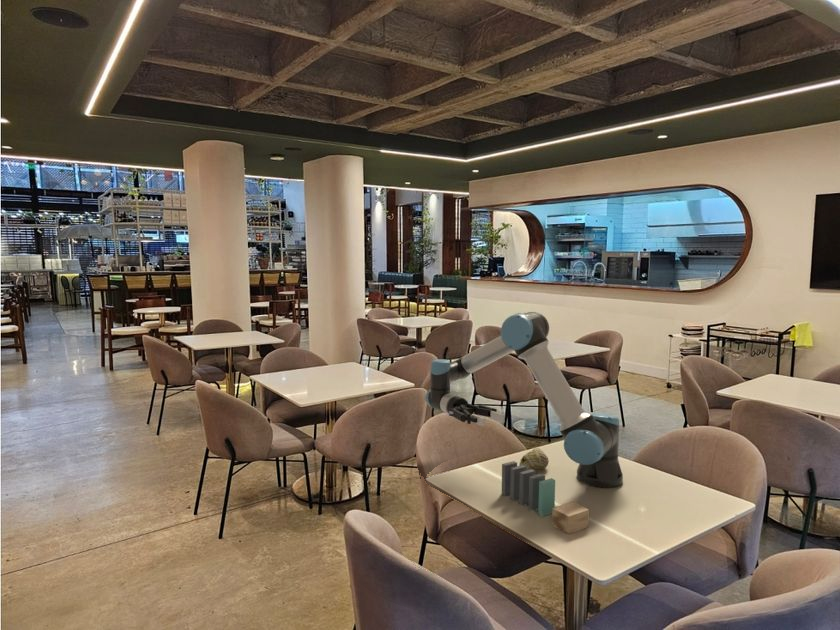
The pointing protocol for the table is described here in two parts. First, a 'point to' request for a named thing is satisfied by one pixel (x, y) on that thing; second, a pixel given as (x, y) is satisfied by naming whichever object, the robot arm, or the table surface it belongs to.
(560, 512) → the stop block
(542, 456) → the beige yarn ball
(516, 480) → the domino
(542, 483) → the domino
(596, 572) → the table surface
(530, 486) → the domino
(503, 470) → the domino
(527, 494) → the domino
